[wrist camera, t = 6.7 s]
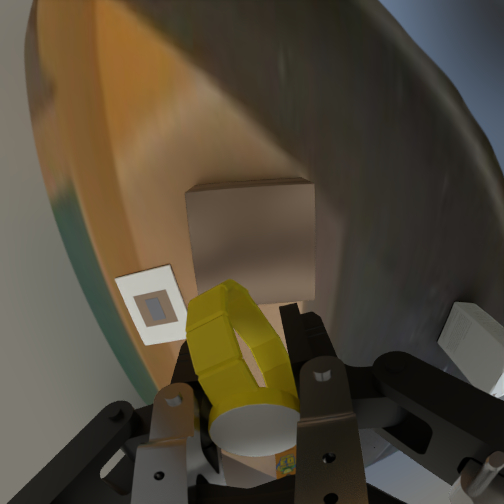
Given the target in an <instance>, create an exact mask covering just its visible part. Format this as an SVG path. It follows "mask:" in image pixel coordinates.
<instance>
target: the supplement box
mask: <svg viewBox="0 0 504 504" xmlns="http://www.w3.org/2000/svg"><path fill="white" fill-rule="evenodd" d="M275 459H276V474H277V479H279V478H282V477H284V476H287V475H293V474H295V473H296V445H295V446H294V447H292V448H290V449H288V450H285V451H283V452H281V453H277V454H275Z"/></svg>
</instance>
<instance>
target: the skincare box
mask: <svg viewBox="0 0 504 504" xmlns="http://www.w3.org/2000/svg"><path fill="white" fill-rule="evenodd" d="M437 343H438V344H439V345H440V346H441V348H442V349H443V350H444V351H445V352H446V353H447V355H448V356H449V357H450V358H451V359H452V361H453V362H454V363H455V364H456V365H457V367H458V368H459V369H460V370H461V371H462V373H463V374H464V375H465V376H466V378H467V379H468V380H469V381H470V383H471V384H472V385H473V386H474V387H476V388H478V389H480V390H482V391H484V392H486V393H488V394H490V395H492V396H495V397H497V398H498V397H501V396H503V395H504V327H503V326H502V325H500V324H499V323H498V322H497V321H496V320H494V319H493V318H492V317H491V316H490V315H488V314H487V313H486V312H485V311H484V310H482V309H481V308H480V307H478V306H477V305H476V304H474V303H465V302H454V305H453V307H452V310H451V312H450V315H449V317H448V319H447V322H446V324H445V326H444V329H443V331H442V333H441V335H440V337H439V340H438V342H437Z"/></svg>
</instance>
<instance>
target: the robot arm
mask: <svg viewBox="0 0 504 504" xmlns="http://www.w3.org/2000/svg"><path fill="white" fill-rule="evenodd" d="M279 310H280V315H281V320H282V325H283V329H284V334H285V339H286V344H287V349H288V354H289V359H290V364H291V368H292V373H293V377H294V381H295V386H296V390H297V395H298V399H299V400H300V421H298V422H297V437H296V473H295V474H293V475H287V476H284V477H282V478H279V479H276V480H274V481H271V482H268V483H265V484H262V485H259V486H257V487H253V488H249V489H245V488H237V487H230V486H227V485H226V482H225V478H224V471H223V464H222V455H221V448H220V447H218V446H217V445H216V444H215V443H214V442H213V441H212V440H211V438H210V436H209V432H208V422H209V414H210V411H211V408H212V404H211V402H210V401H209V399H208V397H207V395H206V394H205V392H204V390H203V388H202V386H201V385H200V383H199V381H198V378H199V376H198V375H196V374H195V370H194V367H193V363H192V359H191V355H190V351H189V347H188V344H187V340H186V341H185V342H184V343H183V344H182V346H181V349H180V352H179V356H178V359H177V363H176V366H175V369H174V373H173V376H172V380H171V383H170V385H168V386H166V387H164V388H162V389H161V390H160V391H159V392H158V393H157V394H156V396H155V399H154V404H151V405H148V406H145V407H142V408H139V409H134V408H133V407H132V405H131V404H130V403H129V402H127V401H116V402H113V403H111V404H109V405H107V406H106V407H105V408H104V409H103V410H101V412H99V413H98V415H97V416H95V418H94V419H92V420H91V421H90V422H89V423H88V424H87V425H86V426H85V427H84V428H83V429H82V430H81V431H80V432H79V433H78V434H77V435H76V436H75V437H74V438H73V439H72V440H71V441H70V442H69V443H68V444H67V445H66V446H65V447H64V448H63V449H62V450H61V451H60V452H59V453H58V454H57V455H56V456H55V457H54V458H53V459H52V460H51V461H50V462H49V463H48V464H47V465H46V466H45V467H44V468H43V469H42V470H41V471H40V472H39V473H38V474H37V475H36V476H35V477H34V478H32V479H31V481H29V483H27V484H26V485H25V486H24V487H23V488H22V489H21V490H20V491H19V492H18V493H17V494H16V495H15V496H14V497H13V498H12V499H11V500H10V501H9V502H8V503H7V504H407V503H405V502H403V501H401V500H399V499H397V498H395V497H393V496H391V495H389V494H387V493H386V492H384V491H382V490H380V489H378V488H376V487H375V486H373V485H371V484H369V483H366V477H365V469H364V462H363V455H362V448H361V441H360V435H359V429H365V428H372V429H373V430H374V431H375V432H376V433H377V434H379V435H380V436H381V437H383V438H384V439H385V440H387V441H388V442H389V443H391V444H392V445H393V446H395V447H396V448H398V449H399V450H400V451H402V452H403V453H404V454H406V455H407V456H409V457H410V458H412V459H413V460H414V461H416V462H417V463H419V464H420V465H422V466H423V467H424V468H426V469H427V470H429V471H430V472H432V473H433V474H435V475H436V476H438V477H439V478H441V479H442V480H444V481H445V482H447V483H448V484H450V485H451V486H452V487H451V489H450V493H449V498H450V502H451V504H504V401H503V400H501V399H499V398H497V397H495V396H492V395H490V394H488V393H486V392H484V391H482V390H480V389H478V388H476V387H474V386H472V385H470V384H468V383H466V382H464V381H462V380H460V379H458V378H456V377H454V376H452V375H450V374H448V373H446V372H444V371H442V370H440V369H438V368H436V367H434V366H432V365H430V364H428V363H426V362H424V361H422V360H420V359H418V358H416V357H414V356H412V355H410V354H408V353H406V352H401V351H393V352H388V353H385V354H383V355H381V356H380V357H378V358H377V359H376V360H375V362H374V363H373V366H370V367H352V366H348V365H346V364H344V363H343V362H342V361H341V360H340V359H339V358H338V357H337V355H336V353H335V350H334V348H333V346H332V343H331V341H330V338H329V336H328V334H327V331H326V329H325V327H324V324H323V322H322V319H321V317H320V316H318V315H317V314H315V313H314V312H308V313H304V314H300V312H299V308H298V305H297V303H293V304H289V305H285V306H280V307H279ZM119 449H121V450H122V451H123V452H124V453H125V455H124V457H123V458H122V459H121V460H120V461H119V462H118V463H117V465H116V466H115V467H114V468H113V469H112V470H111V471H110V472H109V473H108V475H107V476H106V477H104V478H102V479H101V478H100V471H101V469H102V467H103V466H104V465H105V464H106V463H107V462H108V461H109V459H111V457H112V456H113V455H114V454H115V453H116V452H117V451H118V450H119Z"/></svg>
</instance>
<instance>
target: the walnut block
mask: <svg viewBox="0 0 504 504" xmlns="http://www.w3.org/2000/svg"><path fill="white" fill-rule="evenodd" d="M185 200H186V209H187V217H188V225H189V233H190V241H191V249H192V256H193V263H194V270H195V277H196V283H197V290H198V295H200V294H202V293H204V292H205V291H207V290H209V289H211V288H213V287H215V286H216V285H218V284H220V283H222V282H224V281H226V280H227V279H232V280H234V281H236V282H237V283H239V284H240V285H242V286H243V287H245V288H246V289H248V291H249V292H248V293H249V295H250V296H251V297H252V299H253V300H254V302H255V303H256V305H259V304H272V303H285V302H296V301H307V300H315V190H314V183H312V182H310V181H308V180H306V179H303V178H285V179H266V180H251V181H237V182H225V183H213V184H203V185H195V186H194V187H192V188H191V189H189V190H188V191H187V192H185Z"/></svg>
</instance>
